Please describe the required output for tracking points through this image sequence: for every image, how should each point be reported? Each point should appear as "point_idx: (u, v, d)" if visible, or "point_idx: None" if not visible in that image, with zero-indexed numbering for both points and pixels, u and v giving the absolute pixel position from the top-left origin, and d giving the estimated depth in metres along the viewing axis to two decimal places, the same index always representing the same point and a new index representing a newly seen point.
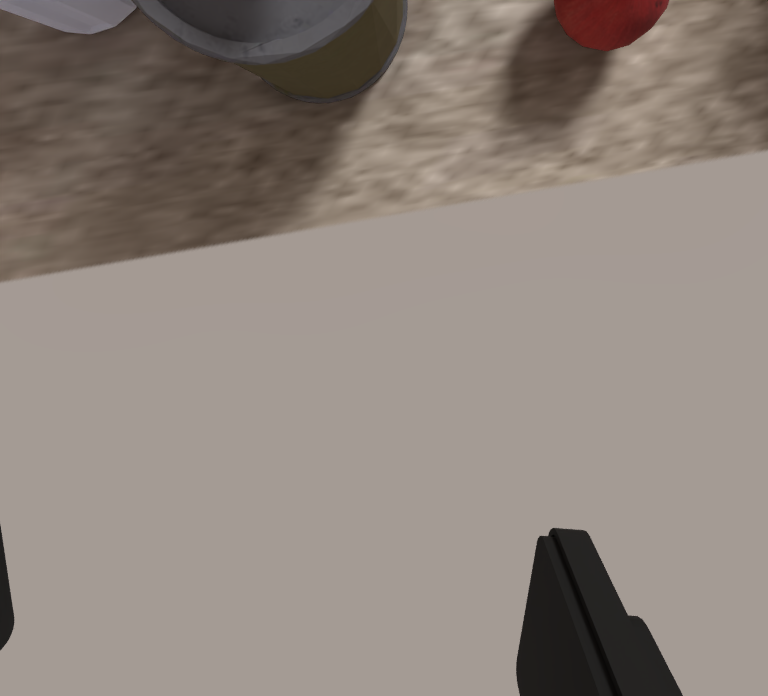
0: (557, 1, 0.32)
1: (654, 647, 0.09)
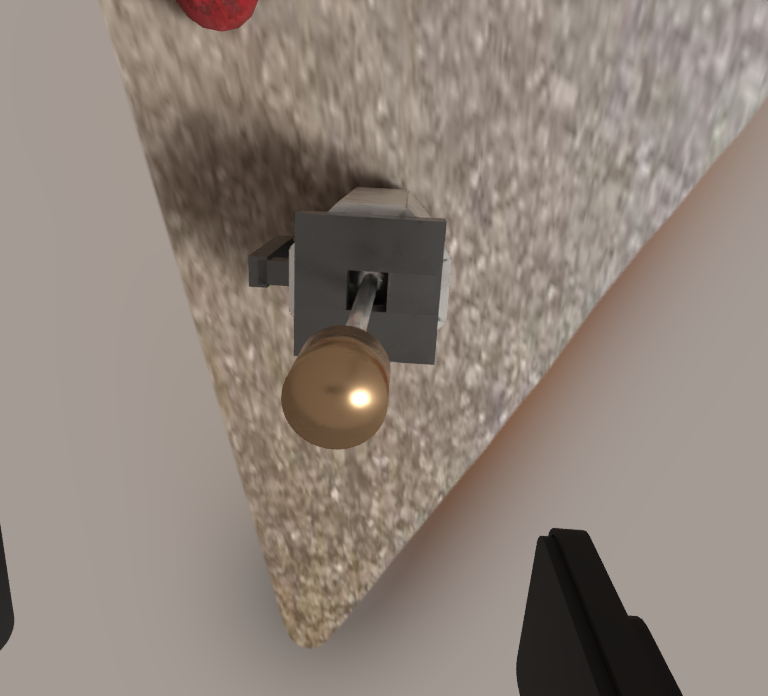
0: None
1: (654, 647, 0.09)
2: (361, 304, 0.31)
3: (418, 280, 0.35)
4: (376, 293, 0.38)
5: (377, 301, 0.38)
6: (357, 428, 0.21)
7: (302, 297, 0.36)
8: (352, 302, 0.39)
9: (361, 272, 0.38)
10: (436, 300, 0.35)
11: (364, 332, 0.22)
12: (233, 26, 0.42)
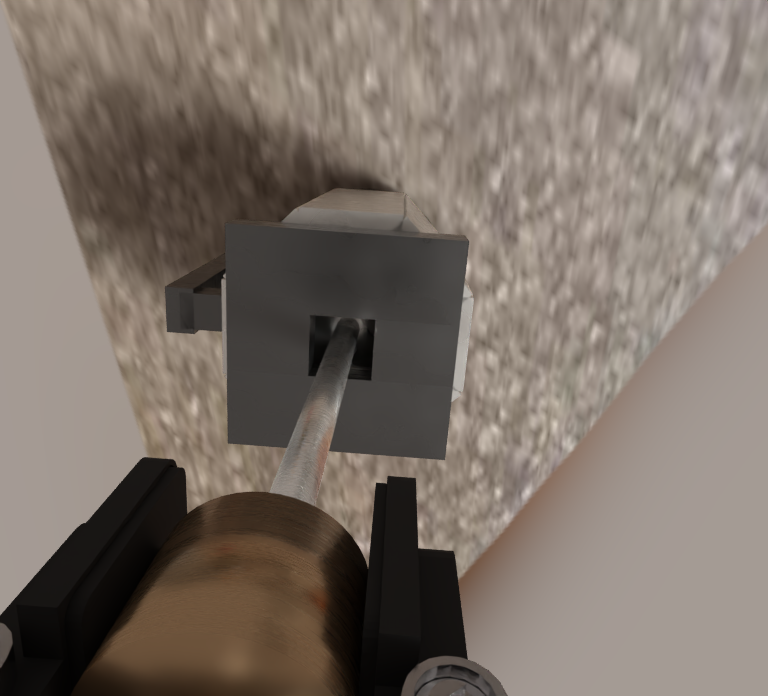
0: None
1: (456, 573, 0.10)
2: (326, 383, 0.18)
3: (422, 332, 0.22)
4: (357, 346, 0.25)
5: (359, 357, 0.25)
6: None
7: (239, 355, 0.23)
8: (321, 358, 0.26)
9: None
10: (450, 363, 0.23)
11: (309, 512, 0.09)
12: None
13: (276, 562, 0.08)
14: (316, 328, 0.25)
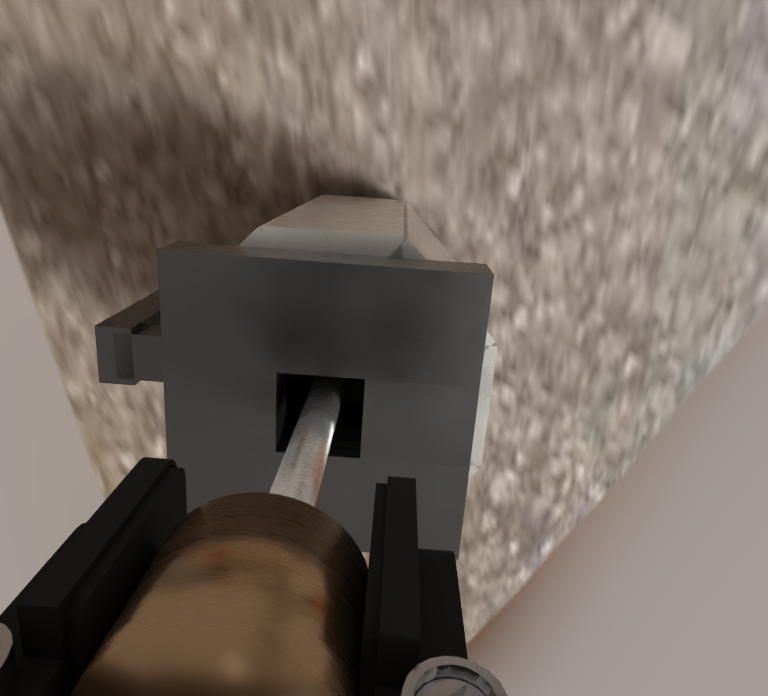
0: None
1: (456, 574, 0.10)
2: (326, 383, 0.18)
3: (429, 396, 0.16)
4: None
5: None
6: None
7: (183, 425, 0.17)
8: None
9: None
10: (466, 437, 0.17)
11: (309, 513, 0.09)
12: None
13: (275, 563, 0.08)
14: None
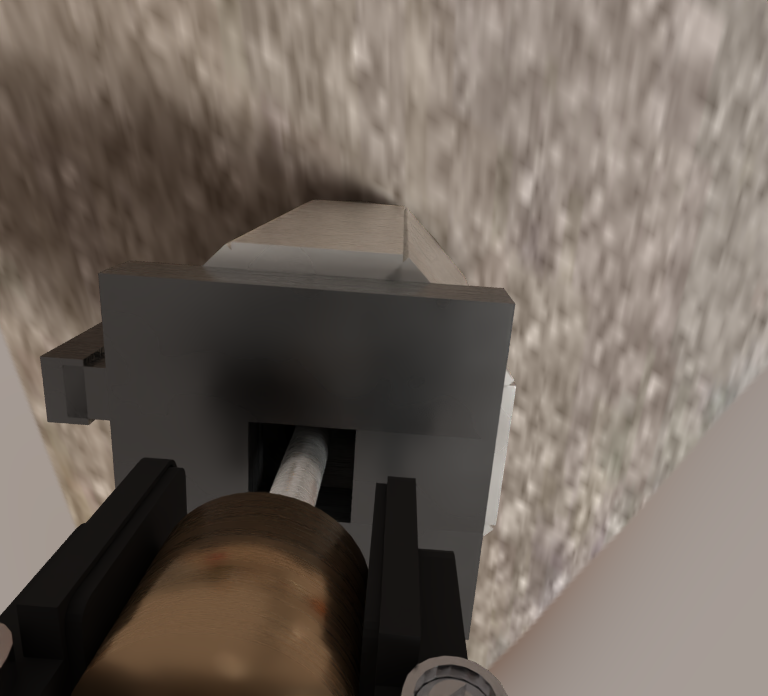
0: None
1: (456, 573, 0.10)
2: None
3: (434, 450, 0.13)
4: None
5: None
6: None
7: None
8: None
9: None
10: (479, 498, 0.14)
11: (309, 512, 0.09)
12: None
13: (276, 562, 0.08)
14: None
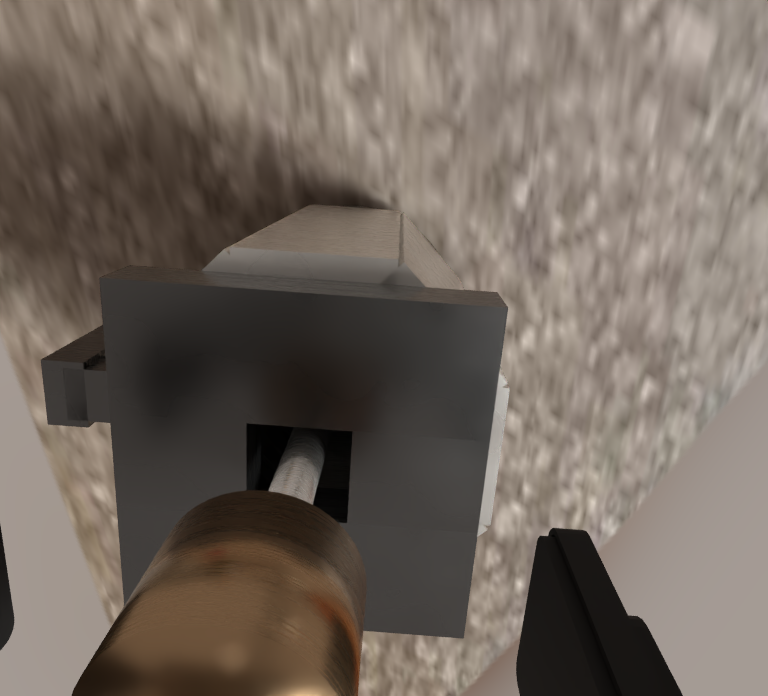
0: None
1: (653, 647, 0.09)
2: None
3: (429, 451, 0.14)
4: None
5: None
6: None
7: (136, 484, 0.14)
8: None
9: None
10: (474, 498, 0.14)
11: (306, 510, 0.10)
12: None
13: (274, 557, 0.08)
14: None
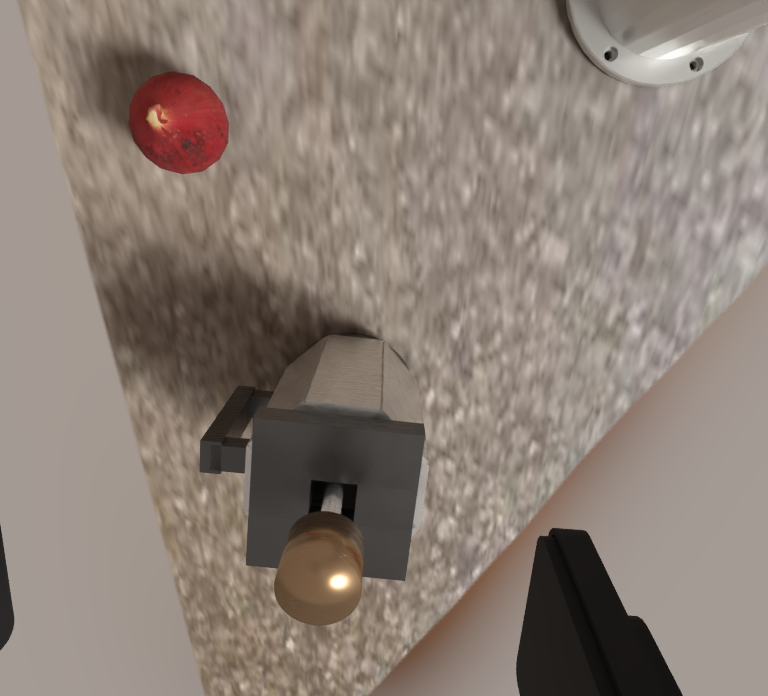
0: None
1: (654, 647, 0.09)
2: None
3: (391, 494, 0.31)
4: None
5: None
6: (335, 610, 0.25)
7: (258, 505, 0.31)
8: None
9: None
10: (410, 515, 0.31)
11: (344, 518, 0.27)
12: (198, 171, 0.38)
13: (336, 534, 0.26)
14: None
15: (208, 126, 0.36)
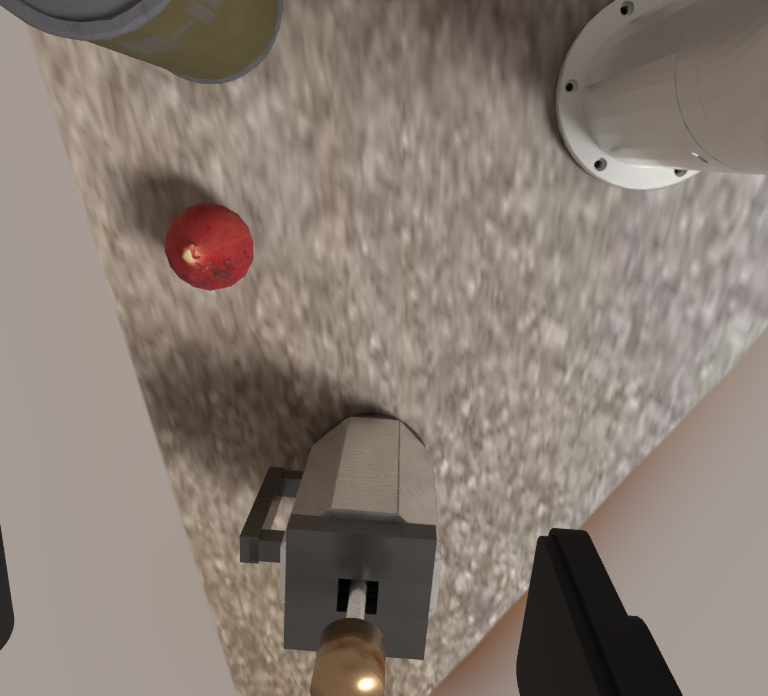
0: (196, 205, 0.41)
1: (653, 647, 0.09)
2: None
3: (408, 588, 0.35)
4: None
5: None
6: None
7: (293, 599, 0.36)
8: None
9: None
10: (426, 606, 0.36)
11: (367, 624, 0.31)
12: (228, 286, 0.42)
13: (361, 643, 0.30)
14: None
15: (236, 253, 0.40)
